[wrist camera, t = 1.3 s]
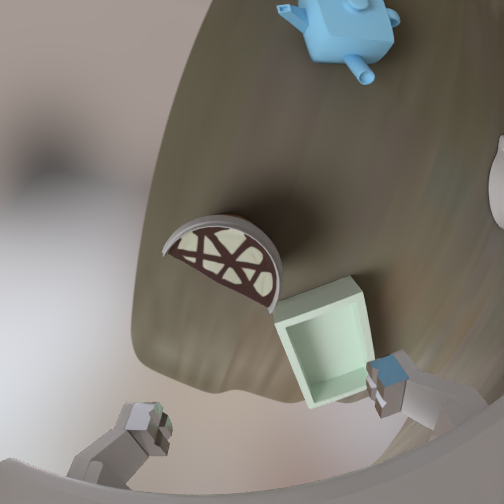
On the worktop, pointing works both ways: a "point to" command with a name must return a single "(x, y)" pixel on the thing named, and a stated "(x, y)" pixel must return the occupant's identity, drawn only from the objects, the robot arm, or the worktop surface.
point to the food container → (231, 255)
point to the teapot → (344, 32)
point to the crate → (327, 340)
